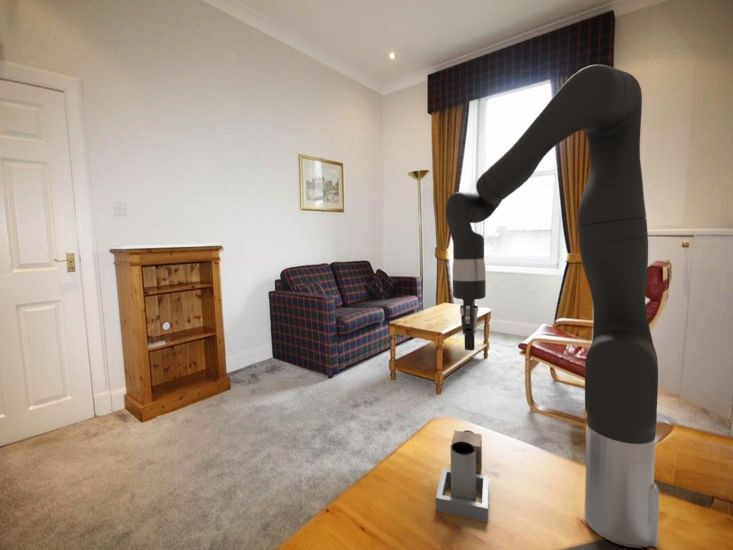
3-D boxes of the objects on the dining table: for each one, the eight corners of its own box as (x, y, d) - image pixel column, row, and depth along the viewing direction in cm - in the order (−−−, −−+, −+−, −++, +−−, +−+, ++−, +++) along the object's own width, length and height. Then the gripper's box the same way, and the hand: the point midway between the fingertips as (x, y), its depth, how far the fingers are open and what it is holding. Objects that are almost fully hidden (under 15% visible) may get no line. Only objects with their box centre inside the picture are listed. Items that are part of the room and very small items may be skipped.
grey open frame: (488, 488, 70) (488, 476, 70) (487, 522, 61) (487, 508, 61) (442, 479, 73) (442, 467, 73) (436, 510, 65) (435, 497, 64)
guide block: (481, 462, 78) (481, 434, 77) (480, 477, 73) (480, 446, 73) (454, 458, 80) (454, 430, 79) (452, 471, 75) (451, 442, 75)
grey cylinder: (477, 509, 64) (476, 455, 64) (451, 506, 65) (450, 453, 64) (474, 492, 69) (474, 441, 68) (451, 489, 70) (450, 440, 69)
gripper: (484, 280, 76) (485, 359, 77) (486, 275, 88) (486, 342, 90) (449, 280, 79) (450, 356, 80) (455, 275, 91) (456, 341, 92)
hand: (469, 349), depth 85 cm, fingers closed
